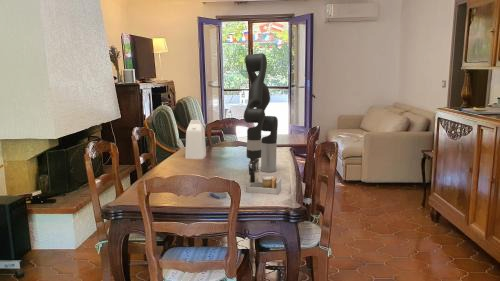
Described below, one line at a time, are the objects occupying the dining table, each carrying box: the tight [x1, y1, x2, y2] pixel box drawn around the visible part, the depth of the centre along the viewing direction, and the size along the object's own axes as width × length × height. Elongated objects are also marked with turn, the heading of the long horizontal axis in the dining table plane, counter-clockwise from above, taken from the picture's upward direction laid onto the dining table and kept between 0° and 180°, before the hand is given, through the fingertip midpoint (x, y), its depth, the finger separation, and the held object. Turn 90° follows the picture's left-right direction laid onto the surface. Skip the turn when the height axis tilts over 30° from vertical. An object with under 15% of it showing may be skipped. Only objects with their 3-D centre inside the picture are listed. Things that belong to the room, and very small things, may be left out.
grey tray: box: [246, 176, 282, 195], centre depth 202 cm, size 11×16×6 cm
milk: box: [184, 119, 207, 160], centre depth 276 cm, size 12×12×26 cm
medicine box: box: [209, 192, 227, 200], centre depth 191 cm, size 8×4×9 cm, turn 45°
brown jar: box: [261, 175, 274, 188], centre depth 201 cm, size 5×5×7 cm
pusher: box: [272, 176, 278, 189], centre depth 201 cm, size 8×1×6 cm, turn 167°
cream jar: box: [248, 168, 260, 185], centre depth 202 cm, size 5×5×7 cm
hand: (253, 180), depth 203 cm, fingers closed on cream jar, 5 cm apart
